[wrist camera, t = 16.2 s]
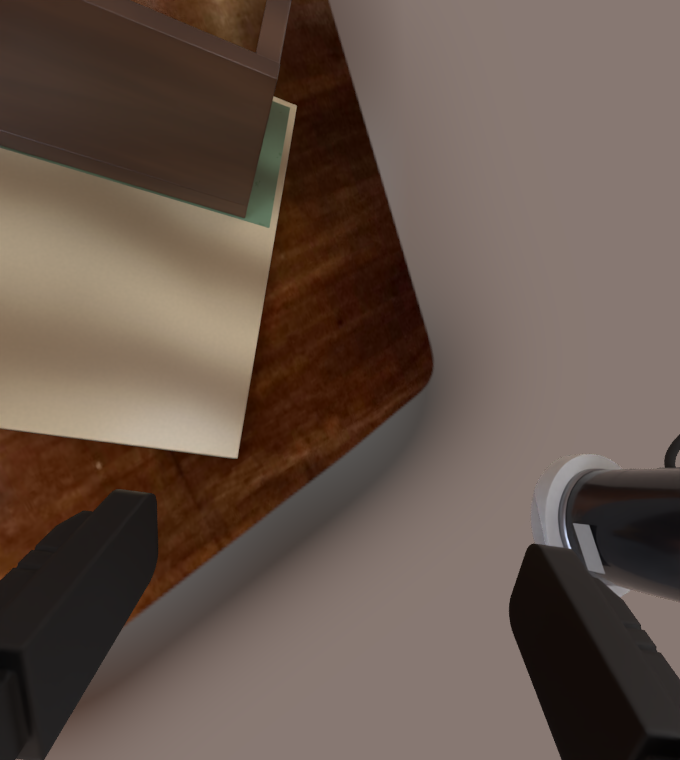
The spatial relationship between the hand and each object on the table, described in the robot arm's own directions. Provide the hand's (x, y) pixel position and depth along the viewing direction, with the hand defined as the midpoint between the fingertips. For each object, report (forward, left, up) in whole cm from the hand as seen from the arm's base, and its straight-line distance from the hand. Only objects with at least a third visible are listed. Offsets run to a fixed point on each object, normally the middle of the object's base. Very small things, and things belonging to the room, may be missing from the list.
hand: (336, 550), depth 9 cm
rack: (+4, -26, -18) cm, 32 cm away
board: (+6, -19, -19) cm, 27 cm away
